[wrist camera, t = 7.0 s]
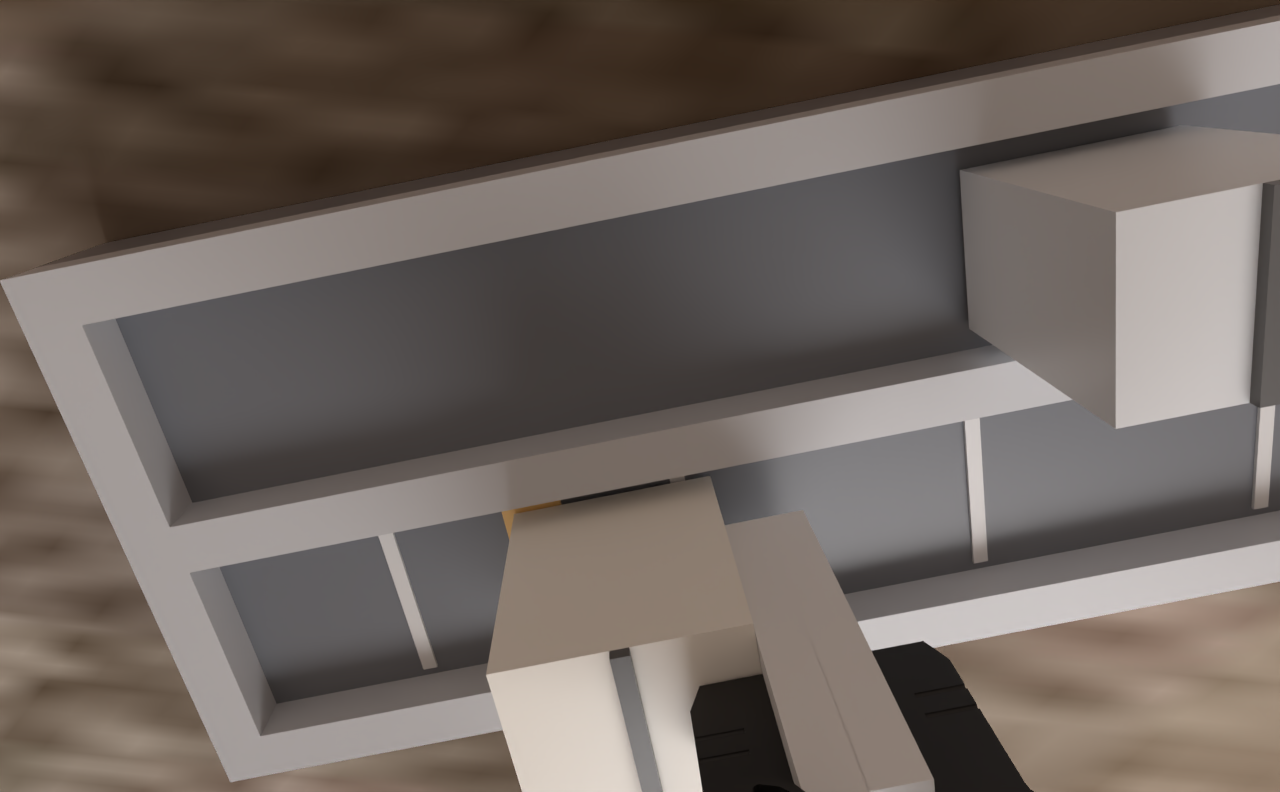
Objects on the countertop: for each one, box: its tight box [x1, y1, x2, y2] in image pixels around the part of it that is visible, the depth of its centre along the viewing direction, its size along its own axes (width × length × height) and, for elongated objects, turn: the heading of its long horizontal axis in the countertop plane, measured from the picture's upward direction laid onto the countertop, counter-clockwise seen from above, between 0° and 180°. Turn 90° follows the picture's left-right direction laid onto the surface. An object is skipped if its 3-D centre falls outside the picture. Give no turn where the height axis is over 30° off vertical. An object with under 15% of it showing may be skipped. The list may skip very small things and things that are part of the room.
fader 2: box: [960, 125, 1280, 429], centre depth 14 cm, size 4×3×5 cm
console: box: [0, 4, 1280, 782], centre depth 18 cm, size 27×11×3 cm, turn 101°
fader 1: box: [486, 476, 762, 792], centre depth 16 cm, size 4×3×5 cm
